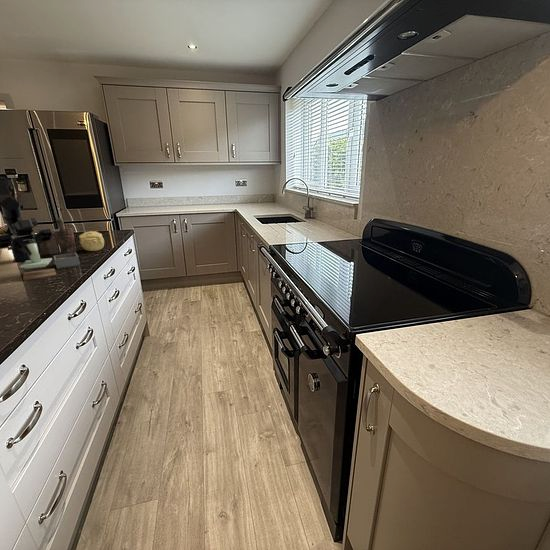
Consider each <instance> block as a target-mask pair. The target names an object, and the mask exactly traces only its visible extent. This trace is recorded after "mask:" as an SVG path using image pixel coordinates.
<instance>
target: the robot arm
mask: <svg viewBox="0 0 550 550" xmlns="http://www.w3.org/2000/svg"><path fill="white" fill-rule="evenodd" d="M13 189H14V188H13V183H12V181H11V179H8V178H7V177H3V176H2V177H1V176H0V213H1V215H3V221H4V222H5V223H6V228H7V229H6V231H5V234H0V249H1V250H2V249H7V250H8V251H10V250H11V253H12V256H13V263H17V262H25V261H26V260H31V258H30V255H31V252H30V250H29V249H28V247H27V244H31V240H32V243H37V247H38V251H39V254H42V249H41V243H43V242H49V241H52V236H53V234H54V232H53V231H52V229H50V228H42V229H41V228H40V229H39V230H38V232H37V233H33V232H34V229H33V228H35V227H38V224H39V223H38V221H37V220H36V218H35V217H31V218H29V219H23V218H22V211H23V209H24V205H23V204H21V203H20V202H18V200H17V198H16V197H14V196H13V195H12V190H13Z"/></svg>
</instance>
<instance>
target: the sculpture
mask: <svg viewBox="0 0 550 550" xmlns="http://www.w3.org/2000/svg"><path fill="white" fill-rule="evenodd" d="M78 238H79V243H80V246H81V247H82V248H83V249H84V250H85V251H87V252H97V251H101V250H102V249H103V248H104V246H105V239H104V237H103V234H102V233H100V232H98V231H92V230H90V231H85V232H83V233H82V234H80V235H79V236H78Z"/></svg>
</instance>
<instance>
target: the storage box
mask: <svg viewBox="0 0 550 550" xmlns="http://www.w3.org/2000/svg"><path fill="white" fill-rule="evenodd" d="M53 259H54V264H55V267H56V269H57V270H60V269H61V270H62V269H67V268H74V267H80V266H81V262H80V258H79V255H78V254H77V252H76V253H69V254H56V255H53Z"/></svg>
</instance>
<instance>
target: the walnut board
mask: <svg viewBox="0 0 550 550" xmlns="http://www.w3.org/2000/svg"><path fill="white" fill-rule="evenodd" d="M54 276H57V272H56V269H55V267H52V268H44V269H39V270H38V269H37V270H32V271H27V272H23V276H22V277H23V282H24V281H30V280H31V281H32V280H38V279H43V278H49V277H54Z"/></svg>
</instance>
